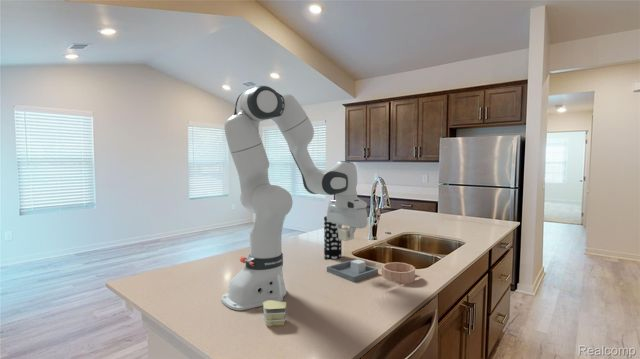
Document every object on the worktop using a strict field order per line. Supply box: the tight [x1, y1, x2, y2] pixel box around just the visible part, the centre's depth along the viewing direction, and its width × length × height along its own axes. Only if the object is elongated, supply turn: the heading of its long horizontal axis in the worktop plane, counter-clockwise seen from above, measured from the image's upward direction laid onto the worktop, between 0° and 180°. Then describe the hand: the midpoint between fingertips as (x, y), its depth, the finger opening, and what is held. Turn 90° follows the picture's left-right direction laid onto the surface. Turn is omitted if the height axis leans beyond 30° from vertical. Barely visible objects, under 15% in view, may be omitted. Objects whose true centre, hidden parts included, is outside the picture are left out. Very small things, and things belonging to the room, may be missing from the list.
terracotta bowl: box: [381, 261, 416, 285], centre depth 132 cm, size 13×13×4 cm
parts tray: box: [326, 260, 379, 283], centre depth 137 cm, size 14×16×3 cm
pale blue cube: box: [351, 259, 367, 273], centre depth 139 cm, size 4×4×4 cm
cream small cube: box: [338, 226, 355, 242], centre depth 134 cm, size 4×4×4 cm
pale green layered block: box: [262, 300, 288, 327], centre depth 97 cm, size 10×9×6 cm
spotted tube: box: [323, 215, 343, 261], centre depth 159 cm, size 8×8×20 cm
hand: (345, 236), depth 133 cm, fingers closed on cream small cube, 4 cm apart
